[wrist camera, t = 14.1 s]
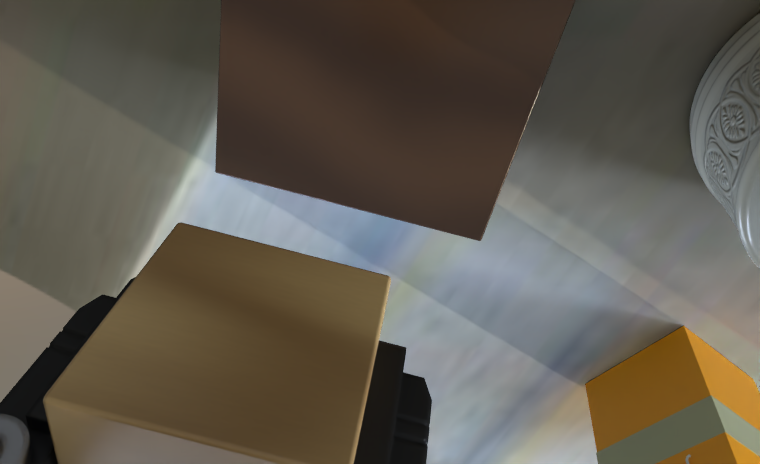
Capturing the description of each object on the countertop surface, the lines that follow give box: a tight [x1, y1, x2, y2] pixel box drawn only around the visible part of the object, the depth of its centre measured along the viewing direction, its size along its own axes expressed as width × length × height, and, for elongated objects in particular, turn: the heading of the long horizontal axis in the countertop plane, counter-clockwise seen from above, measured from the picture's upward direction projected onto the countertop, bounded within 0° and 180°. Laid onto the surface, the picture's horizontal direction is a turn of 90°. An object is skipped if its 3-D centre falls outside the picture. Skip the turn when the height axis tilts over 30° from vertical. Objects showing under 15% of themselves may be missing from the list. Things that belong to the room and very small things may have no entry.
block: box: [43, 223, 391, 464], centre depth 11 cm, size 4×4×4 cm
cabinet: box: [215, 0, 575, 241], centre depth 26 cm, size 15×13×10 cm
